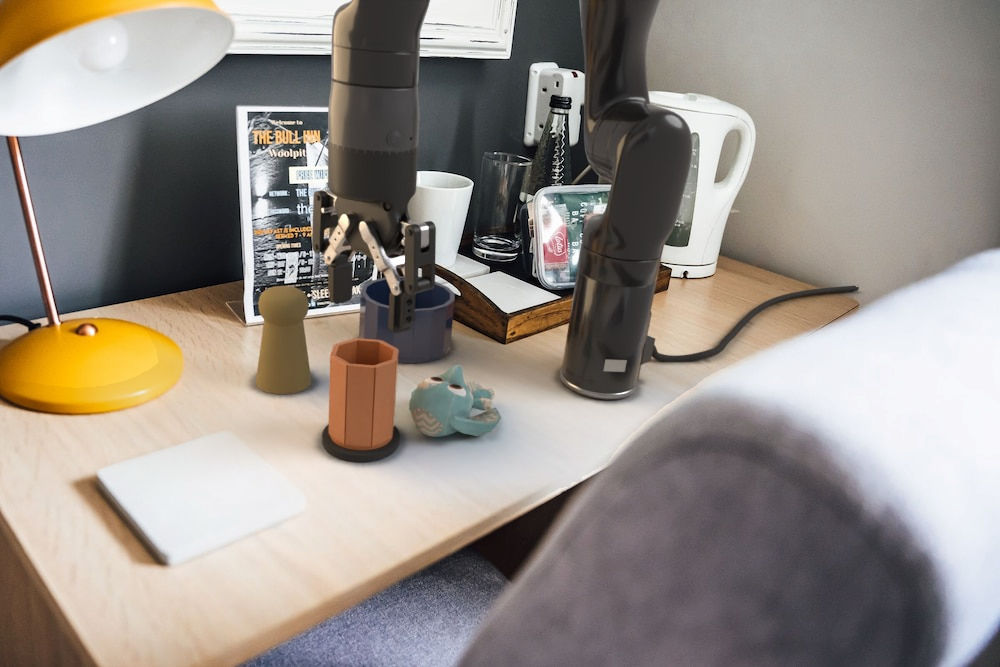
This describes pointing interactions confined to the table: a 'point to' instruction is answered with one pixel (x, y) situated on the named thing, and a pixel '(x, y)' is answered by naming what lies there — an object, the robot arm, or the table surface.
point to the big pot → (428, 328)
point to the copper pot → (362, 393)
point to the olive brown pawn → (283, 341)
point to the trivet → (360, 454)
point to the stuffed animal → (452, 405)
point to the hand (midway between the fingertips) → (369, 315)
